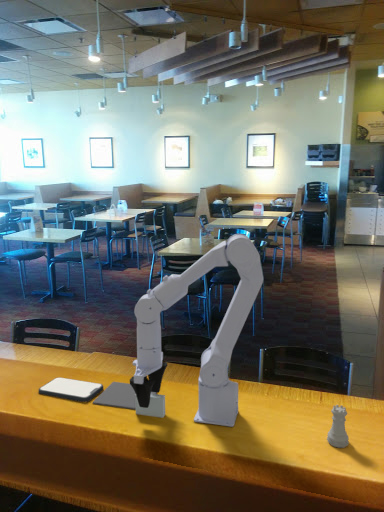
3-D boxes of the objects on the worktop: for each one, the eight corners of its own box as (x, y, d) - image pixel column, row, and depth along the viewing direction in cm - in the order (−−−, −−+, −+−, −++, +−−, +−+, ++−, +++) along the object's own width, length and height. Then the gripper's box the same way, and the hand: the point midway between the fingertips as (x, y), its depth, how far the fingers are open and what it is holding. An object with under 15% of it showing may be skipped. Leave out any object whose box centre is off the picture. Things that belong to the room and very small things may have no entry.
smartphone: (36, 395, 111) (86, 404, 105) (35, 389, 111) (86, 398, 105) (57, 381, 119) (105, 389, 114) (57, 376, 119) (105, 383, 113)
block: (165, 414, 100) (164, 395, 99) (163, 417, 99) (162, 398, 98) (138, 410, 102) (137, 391, 101) (135, 414, 100) (135, 394, 100)
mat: (160, 388, 113) (160, 387, 113) (144, 410, 102) (144, 409, 102) (113, 383, 117) (113, 381, 117) (92, 403, 105) (92, 402, 105)
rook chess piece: (334, 434, 92) (336, 400, 90) (353, 443, 88) (355, 408, 87) (322, 441, 89) (324, 406, 88) (340, 451, 85) (342, 415, 84)
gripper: (144, 333, 106) (145, 383, 108) (120, 354, 92) (122, 411, 94) (170, 336, 104) (170, 386, 106) (150, 358, 90) (151, 416, 92)
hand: (149, 398), depth 100 cm, fingers open, 7 cm apart
